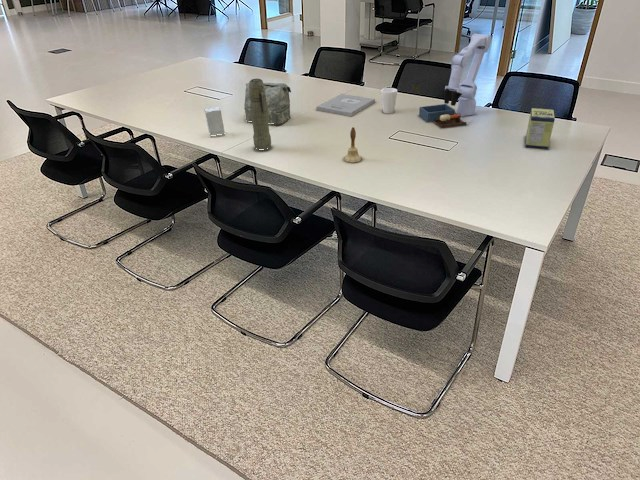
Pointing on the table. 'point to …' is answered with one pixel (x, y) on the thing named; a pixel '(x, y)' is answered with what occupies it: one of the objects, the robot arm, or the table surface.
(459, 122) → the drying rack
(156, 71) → the table surface
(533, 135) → the protein box
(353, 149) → the hand bell
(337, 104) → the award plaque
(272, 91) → the lunch bag
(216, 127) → the cosmetic box
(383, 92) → the foam cup
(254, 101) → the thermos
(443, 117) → the bottle brush
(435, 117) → the wash tub
